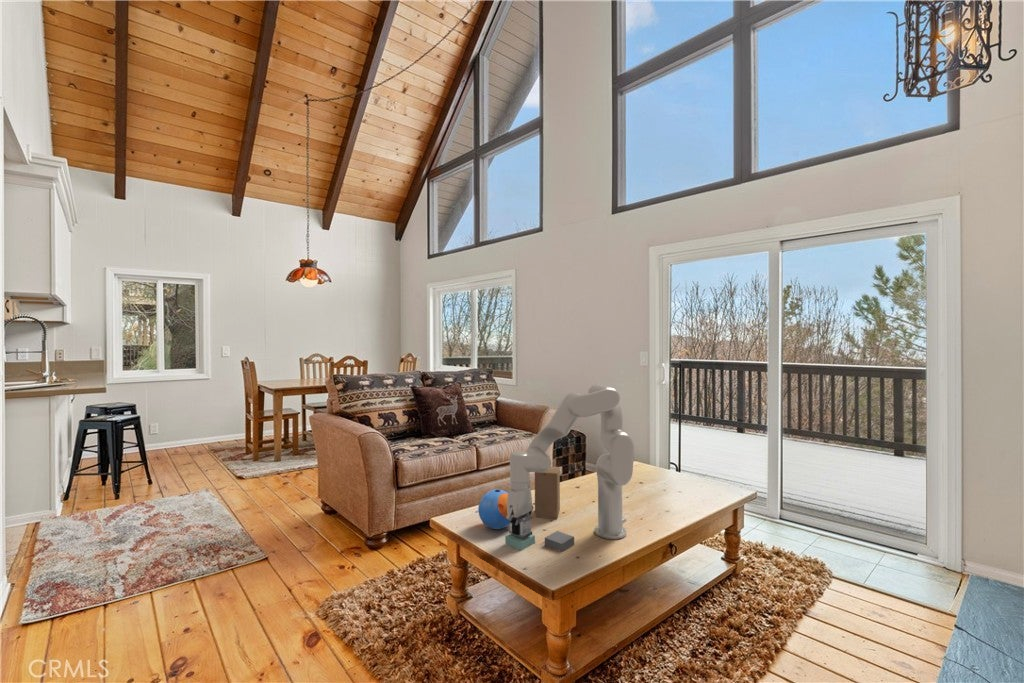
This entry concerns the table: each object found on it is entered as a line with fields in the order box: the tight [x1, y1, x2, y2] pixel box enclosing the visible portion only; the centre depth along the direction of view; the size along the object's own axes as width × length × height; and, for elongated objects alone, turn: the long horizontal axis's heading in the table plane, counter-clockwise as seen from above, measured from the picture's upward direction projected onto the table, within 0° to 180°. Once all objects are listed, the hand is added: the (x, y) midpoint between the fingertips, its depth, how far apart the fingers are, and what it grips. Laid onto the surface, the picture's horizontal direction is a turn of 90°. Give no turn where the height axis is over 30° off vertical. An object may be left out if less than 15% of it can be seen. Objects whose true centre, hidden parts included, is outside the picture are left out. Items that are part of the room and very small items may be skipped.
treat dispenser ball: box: [478, 489, 510, 530], centre depth 195 cm, size 16×15×15 cm
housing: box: [508, 514, 533, 538], centre depth 180 cm, size 5×8×7 cm, turn 48°
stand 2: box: [544, 530, 575, 553], centre depth 178 cm, size 8×8×3 cm
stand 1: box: [504, 533, 536, 551], centre depth 180 cm, size 8×8×3 cm
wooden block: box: [534, 466, 561, 520], centre depth 208 cm, size 10×10×20 cm
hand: (520, 531), depth 180 cm, fingers closed on housing, 5 cm apart
